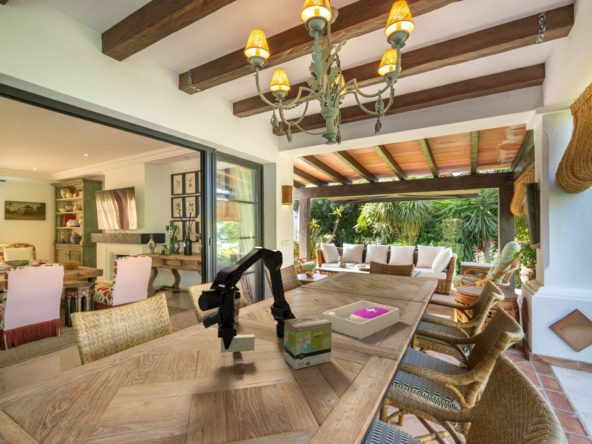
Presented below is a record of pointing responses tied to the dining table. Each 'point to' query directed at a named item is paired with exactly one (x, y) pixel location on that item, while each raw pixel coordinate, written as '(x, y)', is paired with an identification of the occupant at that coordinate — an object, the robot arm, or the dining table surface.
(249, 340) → the pale green pillar
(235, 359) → the walnut rail
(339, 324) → the cream tray
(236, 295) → the coffee cup
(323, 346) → the tea box
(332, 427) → the dining table surface
